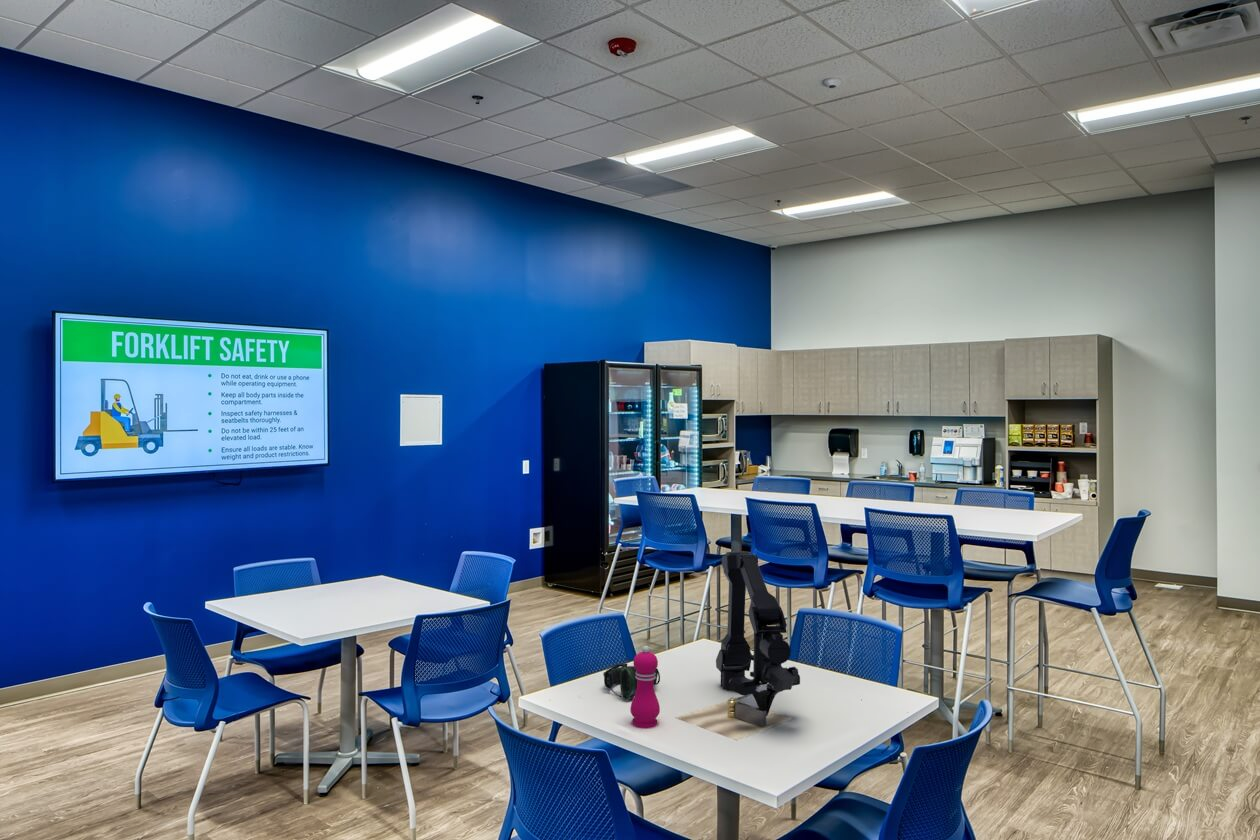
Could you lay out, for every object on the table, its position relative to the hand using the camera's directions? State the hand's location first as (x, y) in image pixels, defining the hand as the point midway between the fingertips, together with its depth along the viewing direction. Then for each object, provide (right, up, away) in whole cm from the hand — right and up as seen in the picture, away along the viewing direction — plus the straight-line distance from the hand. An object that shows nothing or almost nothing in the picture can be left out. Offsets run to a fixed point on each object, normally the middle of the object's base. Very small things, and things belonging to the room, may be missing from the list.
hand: (764, 716), depth 203 cm
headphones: (-33, -3, +26) cm, 42 cm away
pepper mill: (-30, -2, -2) cm, 30 cm away
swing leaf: (-4, -1, +1) cm, 5 cm away
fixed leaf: (-4, -2, +7) cm, 8 cm away
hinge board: (-7, -3, +3) cm, 8 cm away
